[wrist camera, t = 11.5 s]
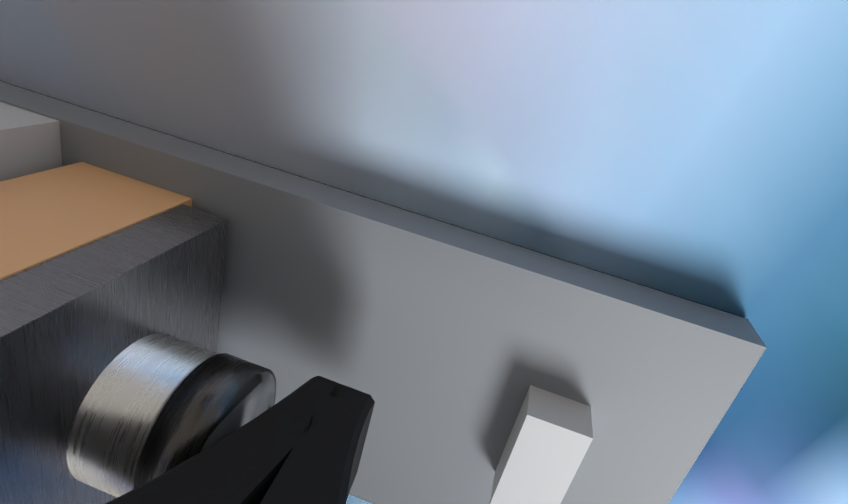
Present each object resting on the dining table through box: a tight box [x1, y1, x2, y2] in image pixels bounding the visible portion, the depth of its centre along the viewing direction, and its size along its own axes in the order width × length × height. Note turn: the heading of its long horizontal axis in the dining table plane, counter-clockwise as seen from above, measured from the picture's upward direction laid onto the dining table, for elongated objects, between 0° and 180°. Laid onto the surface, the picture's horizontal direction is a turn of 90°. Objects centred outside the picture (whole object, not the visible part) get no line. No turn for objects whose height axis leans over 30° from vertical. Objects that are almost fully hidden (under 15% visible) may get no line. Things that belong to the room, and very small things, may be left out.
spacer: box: [0, 162, 192, 280], centre depth 9 cm, size 3×5×6 cm, turn 166°
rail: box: [0, 81, 767, 504], centre depth 10 cm, size 18×7×6 cm, turn 76°
